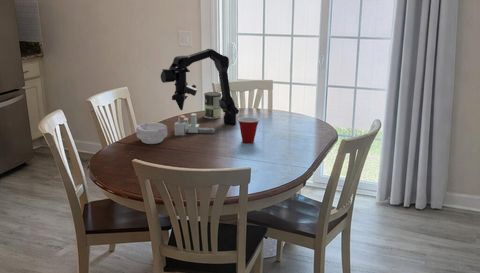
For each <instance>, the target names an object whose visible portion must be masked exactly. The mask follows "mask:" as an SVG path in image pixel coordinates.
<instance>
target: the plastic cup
mask: <svg viewBox="0 0 480 273" xmlns="http://www.w3.org/2000/svg"><path fill="white" fill-rule="evenodd" d="M237 121H238V124H239V128H240V135H241V141H242V143H244V144H253V143H254V141H255V139H256V138H255V137H256V133H257V128H258V125H259V122H260V118H256V117H255V118H254V117H239V118H237Z"/></svg>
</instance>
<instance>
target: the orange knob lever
mask: <svg viewBox="0 0 480 273" xmlns="http://www.w3.org/2000/svg"><path fill="white" fill-rule="evenodd" d="M177 118H178V119H179V122H184V118H186V116H185V115H183V114H181V115H180V114H179V115H178V116H177Z"/></svg>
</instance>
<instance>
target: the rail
mask: <svg viewBox="0 0 480 273" xmlns="http://www.w3.org/2000/svg"><path fill="white" fill-rule="evenodd" d="M187 133H188V128H187V132H186V134H187ZM188 134H189V133H188ZM197 134H215V128H212V127H211V128H210V127H209V128H208V127H199V128H198V133H197Z"/></svg>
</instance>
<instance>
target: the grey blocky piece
mask: <svg viewBox="0 0 480 273" xmlns="http://www.w3.org/2000/svg"><path fill="white" fill-rule="evenodd" d="M189 125H190V123H189V117H185V118H184V122H179V118H178V119H177V121H176V122H174V136H185V135H186V134H187V128H188V126H189Z"/></svg>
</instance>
